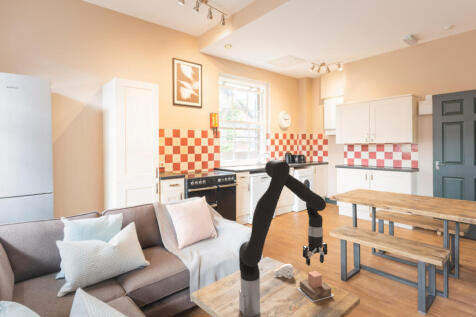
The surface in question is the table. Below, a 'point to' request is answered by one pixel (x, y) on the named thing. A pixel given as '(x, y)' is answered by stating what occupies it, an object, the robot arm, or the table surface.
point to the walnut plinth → (315, 290)
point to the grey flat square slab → (311, 298)
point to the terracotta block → (314, 279)
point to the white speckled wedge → (284, 271)
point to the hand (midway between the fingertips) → (315, 263)
